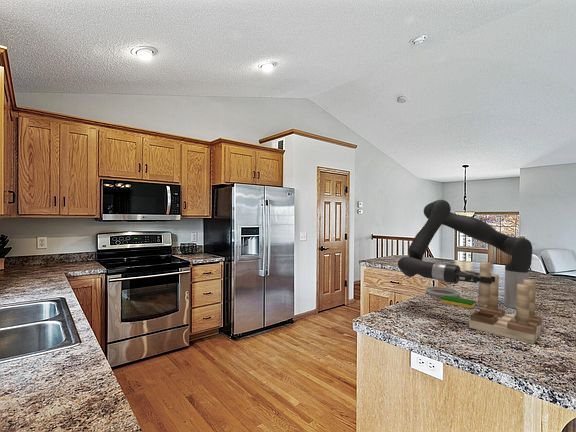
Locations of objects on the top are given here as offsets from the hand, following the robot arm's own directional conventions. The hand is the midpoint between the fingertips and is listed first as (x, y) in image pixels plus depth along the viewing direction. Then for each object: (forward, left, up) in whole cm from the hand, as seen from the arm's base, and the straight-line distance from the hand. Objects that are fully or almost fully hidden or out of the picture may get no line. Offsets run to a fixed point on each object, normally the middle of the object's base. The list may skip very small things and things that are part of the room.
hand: (493, 280), depth 120 cm
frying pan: (-23, -52, -20) cm, 60 cm away
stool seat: (-7, 0, -19) cm, 20 cm away
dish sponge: (-14, -32, -20) cm, 40 cm away
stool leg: (+1, -2, -10) cm, 10 cm away
